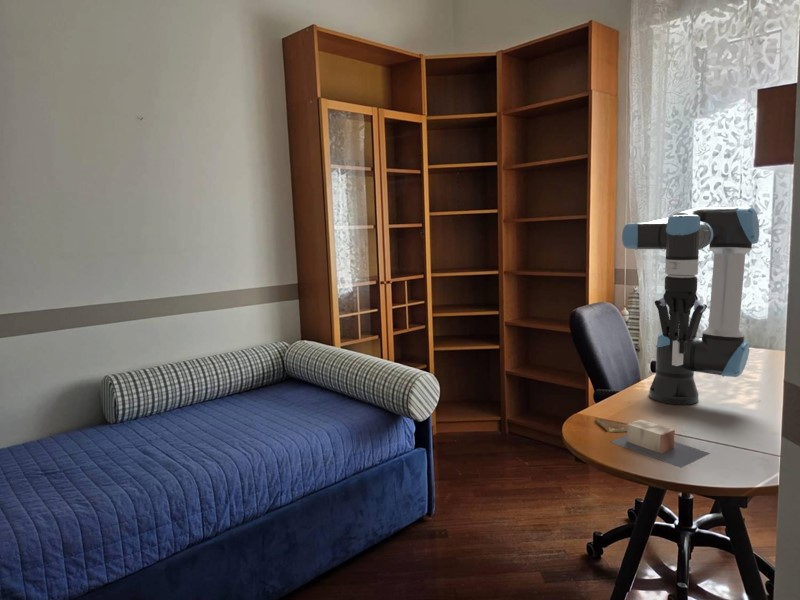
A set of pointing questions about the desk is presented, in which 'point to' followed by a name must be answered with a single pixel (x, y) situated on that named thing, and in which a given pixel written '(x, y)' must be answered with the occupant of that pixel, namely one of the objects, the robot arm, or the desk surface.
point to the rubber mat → (674, 456)
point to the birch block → (650, 436)
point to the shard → (612, 425)
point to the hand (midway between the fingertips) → (677, 364)
